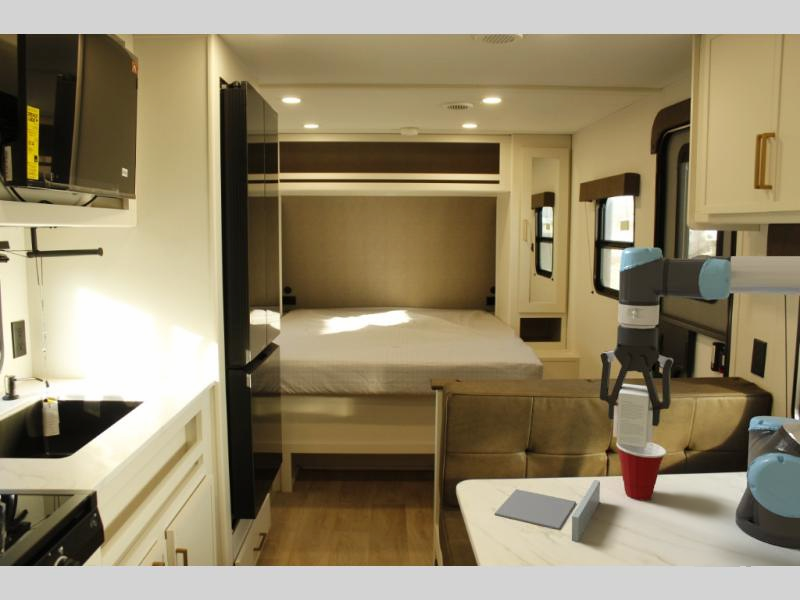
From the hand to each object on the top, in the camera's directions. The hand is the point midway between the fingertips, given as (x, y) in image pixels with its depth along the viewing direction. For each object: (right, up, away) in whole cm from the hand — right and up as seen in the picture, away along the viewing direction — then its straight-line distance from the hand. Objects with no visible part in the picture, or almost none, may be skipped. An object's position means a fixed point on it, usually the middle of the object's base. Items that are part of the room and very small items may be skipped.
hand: (632, 437), depth 121 cm
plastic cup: (+8, -18, +17) cm, 26 cm away
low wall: (-8, -19, +6) cm, 21 cm away
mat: (-17, -18, +11) cm, 28 cm away
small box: (0, -1, 0) cm, 1 cm away
